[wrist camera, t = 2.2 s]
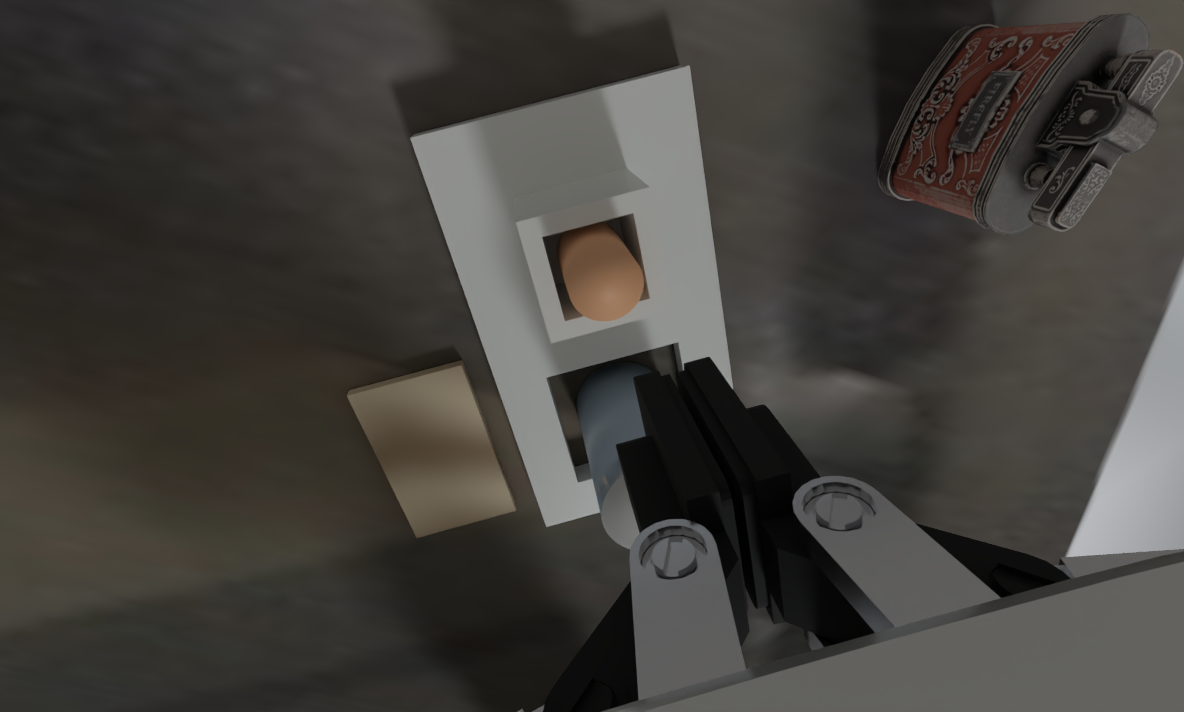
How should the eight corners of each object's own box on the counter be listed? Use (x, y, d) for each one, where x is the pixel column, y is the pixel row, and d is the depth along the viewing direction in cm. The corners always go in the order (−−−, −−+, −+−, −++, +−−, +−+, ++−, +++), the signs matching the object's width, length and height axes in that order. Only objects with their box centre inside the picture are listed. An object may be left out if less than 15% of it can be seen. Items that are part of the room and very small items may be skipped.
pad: (515, 503, 36) (516, 510, 35) (417, 530, 35) (416, 538, 35) (462, 359, 31) (461, 365, 30) (349, 390, 31) (346, 395, 30)
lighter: (956, 11, 27) (1181, -13, 18) (1011, 42, 28) (1250, 33, 19) (862, 183, 30) (1016, 235, 21) (914, 206, 31) (1083, 265, 22)
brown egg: (627, 272, 26) (649, 310, 22) (565, 289, 26) (577, 329, 22) (614, 211, 25) (636, 239, 21) (549, 228, 25) (559, 260, 21)
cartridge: (670, 425, 35) (722, 534, 27) (587, 448, 35) (614, 564, 27) (655, 351, 32) (707, 446, 24) (566, 375, 32) (589, 478, 24)
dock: (735, 457, 36) (776, 525, 31) (544, 509, 36) (552, 587, 31) (680, 65, 26) (726, 66, 21) (414, 133, 26) (393, 152, 21)
